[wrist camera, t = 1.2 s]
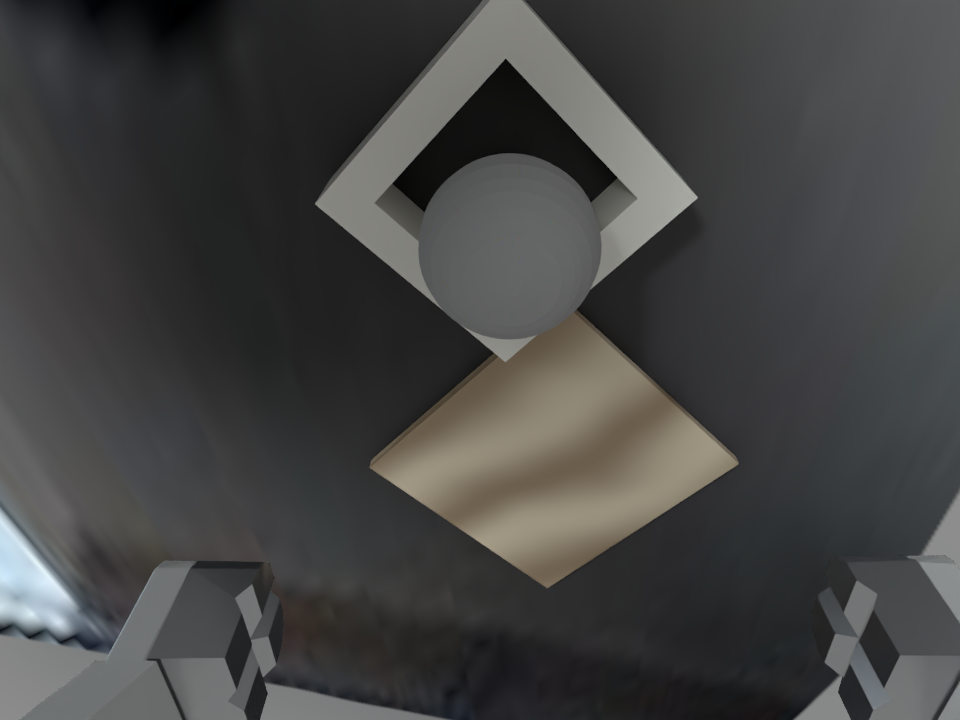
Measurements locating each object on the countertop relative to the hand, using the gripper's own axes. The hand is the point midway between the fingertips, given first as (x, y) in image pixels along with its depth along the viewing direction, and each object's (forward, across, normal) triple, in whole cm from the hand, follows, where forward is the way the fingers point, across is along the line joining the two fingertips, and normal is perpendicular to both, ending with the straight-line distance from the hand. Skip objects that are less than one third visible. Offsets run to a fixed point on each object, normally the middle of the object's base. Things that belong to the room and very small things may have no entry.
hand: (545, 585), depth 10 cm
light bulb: (+20, 0, 0) cm, 20 cm away
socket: (+20, 0, 0) cm, 20 cm away
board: (+20, -2, +14) cm, 24 cm away
